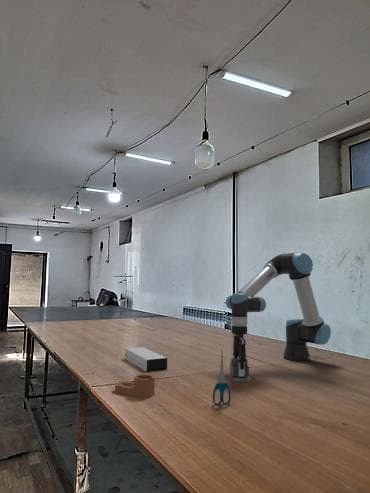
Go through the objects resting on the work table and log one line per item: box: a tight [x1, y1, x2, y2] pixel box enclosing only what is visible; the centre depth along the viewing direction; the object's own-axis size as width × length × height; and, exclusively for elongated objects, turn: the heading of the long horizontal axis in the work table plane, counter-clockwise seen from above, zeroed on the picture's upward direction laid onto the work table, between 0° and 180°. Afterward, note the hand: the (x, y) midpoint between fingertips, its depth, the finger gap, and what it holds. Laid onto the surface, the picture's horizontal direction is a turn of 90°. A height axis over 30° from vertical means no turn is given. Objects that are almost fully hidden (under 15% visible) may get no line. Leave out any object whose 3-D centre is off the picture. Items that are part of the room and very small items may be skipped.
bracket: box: [114, 373, 156, 399], centre depth 150 cm, size 18×8×7 cm, turn 60°
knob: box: [229, 357, 250, 377], centre depth 175 cm, size 8×8×8 cm
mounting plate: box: [227, 371, 252, 382], centre depth 175 cm, size 8×12×5 cm, turn 6°
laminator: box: [124, 346, 168, 373], centre depth 200 cm, size 34×12×6 cm, turn 28°
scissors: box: [212, 350, 232, 406], centre depth 137 cm, size 7×1×20 cm, turn 105°
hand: (239, 373), depth 175 cm, fingers closed on knob, 8 cm apart
